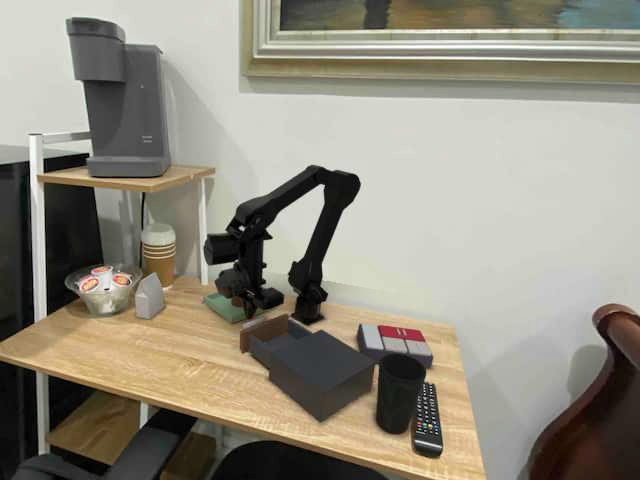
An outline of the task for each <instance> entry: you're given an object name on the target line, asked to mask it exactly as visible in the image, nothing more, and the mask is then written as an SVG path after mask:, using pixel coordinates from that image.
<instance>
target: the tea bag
mask: <svg viewBox="0 0 640 480" xmlns="http://www.w3.org/2000/svg"><path fill="white" fill-rule="evenodd" d="M134 300H135V301H134V303H135V312H136V313H135V314H136V317H137V318H140V319H141V318H142V319H147V320H150V319H152V318H153V317H155V315H157V314H158V313H159V312H160V311H161V310H163V309H164V307H165V304H164V303H165V302H164V301H165V300H164V287H163V285H162V283H161V281H160V279H159V277H158V274H157V271H154V272H152V273H151V274H149V275H148V276H146V277H145V278H143V279H141V280H140V281H139V283H138V287H137V289H136V292H135V295H134Z"/></svg>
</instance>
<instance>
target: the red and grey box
mask: <svg viewBox="0 0 640 480" xmlns="http://www.w3.org/2000/svg"><path fill="white" fill-rule="evenodd" d="M356 338H357V343H358V350H359V352H360V353H362V354H364V355H365V356H367V357H369V358H370V359H372V360H374V361H375V362H376V364H375V365H379V361H380V359H381V358H382V357H383V356H385V355H387V354H393V353H396V354H404V355H407V356H410V357H412V358H415V359H416V360H418V361H419V362H420V363H421V364H423V366H424V367H425V369H429V370H430V369H432V365H433V361H434V356H433V353H432V351H431V349H430V347H429V345H428V342H427V341H426V339H425V337H424V335H423V333H422V331H421V330H420V329H415V328H407V327H399V326H391V325H386V324H385V325H383V324H378V325H377V324H371V323H359V324H358V329H357V334H356Z"/></svg>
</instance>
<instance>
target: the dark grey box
mask: <svg viewBox="0 0 640 480" xmlns="http://www.w3.org/2000/svg"><path fill="white" fill-rule="evenodd" d="M376 365H377V364H376V362H375V361H374V360H372V359H370V358H369V357H367V356H365V355H364V354H362V353H360V350H357V349H355V348H353V347H352V346H350V345H349V344H347V343H345V342H344V341H343V340H340V339H338V338H337V337H335V336H333V335H332V334H331V333H328V331H325V330H323V328H322V329H319V330H316V331H315V332H312V334H310V335H308V336H306V337H303V338H301V339H299V340H297V341H294V342H292V343H290V344H288V345H285V346H283V347H281V348H279V349H276V350H274V351H272V352H270V368H268V369H269V371H268V380H269V381H270V382H271V383H272V384H273V385H275V386H276V387H277V388H278V389H280V391H282V392H283V393H284V394H285V395H286V396H288V397H289V398H290V399H291V400H293V401H294V402H295V403H296V404H298V405H299V406H300V407H301V408H302V409H304V410H305V411H306V412H307V413H308V414H310V416H312V417H313V418H314V419H315V420H316V421H318V422H319V423H323V422H324V421H325V420H327V419H328V418H330V417H332V416H333V415H336V413H338V412H339V411H341V410H343V409H344V408H346V407H347V406H349V405H350V404H351V403H353V402H354V401H356V400H358V399H359V398H361V397H363V395H365V394H366V393H368V392H370V391H371V390H372V387H373V382H374V376H375V369H376Z"/></svg>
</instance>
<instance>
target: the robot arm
mask: <svg viewBox="0 0 640 480" xmlns="http://www.w3.org/2000/svg"><path fill="white" fill-rule="evenodd" d="M360 179H361V178H360V177H359V176H358V175H357V174H356V173H353V172H349V171H345V170H341V169H334V170H330V169H327V168H326V167H324V166H320V165H317V164H310V165H307V167H306V168H305V169H304V170H302V171H301V172H299V173H298V174H296V175H295V176H293V177H292V178H290V179H289V180H287V181H285V182H284V183H282V184H281V185H279V186H278V187H276V188H275V189H274V190H272V191H270V192H269V193H267V194H264V195H261V196H257V197H253V198H250V199H248V200H246V201H244V202H242V203H240V204H239V205H238V206H237V207H236V209H235V213H234V216H233V217H232V219H231V220H230V222H229V223H228V225H227V226H226V228H225V229H224V230H225V231H224V232H219V233H215V232H210V233H207V234H206V239H205V241H204V244H203V246H202V250H203V252H202V253H203V257H204V260H205V263H206V265H207V266H209V267H210V266H217V265H224V264H231V263H232V267H231V268H226V269H222V270H221V271H220V272H219V274H218V277H217V278H216V279H215V280H214V285H215V288H216V290H217V292H218V293H219V294H221V295H223V296H224V297H225V298H226V299H230V298H232V297H233V296H238V297H239V298H240V301H241V304H242V307H243V310H244V313H245V316H246V320H248V321H251V320H252V319H253V318H254V316H255V315H254V314H255V312H256V311H257V309H258V308H260V309H261V310H268V309H271V308H274V307H275V308H278V307H279V306H282V305H284V304H285V294H284V293H283V292H282V291H280V290H278V289H276V287H273V286H270V287H268V288H267V287H265V286H264V285H266V284H267V280H266V279H265V278H263V276H264V275H263V274H264V273H263V271H264V269H267V267H268V263H267V262H264V247H265V241H270V240H273V239H274V237H273V236H272V234H270V233H269V231H268V230H267V229H268V228H269V227H270V226H271V225H272V224H273V223H274V222H275V221H276V219H277V217H278V215H279V214H280V213H281V212H282V211H283V210H284V209H286V208H288V207H289V206H290V205H293V203H295V202H296V201H298V200H299V199H301V198H302V197H303V196H305V195H307V194H308V193H309V192H311V191H313V190H314V189H315V188H317V187H318V186H320V185H322V186H324V187H323V202H324V204H323V206H322V208H321V211H320V214H319V216H318V219H317V222H316V224H315V226H314V229H313V231H312V234H311V236H310V239H309V241H308V245H307V247H306V250H305V252H304V255H303V257H302V258H301V259H300V260H298V261H296V260H293V261H292V263H291V265H290V269H289V271H288V272H287V274H286V275H287V276H288V278H287V283H288V284H289V286H290V287H291V288H292V290H293V292H294V293H296V294H297V296H296V297H295V300H296V301H295V303H294V311H293V312H291V313H290V316H291V317H292V318H294V319H296V320H297V321H299V322H301V323H302V324H304V325H306V326H310V325H312V324H314V323H316V322H319V321H321V320H324V319H325V316H324V315H322V314H321V309H322V303H325V302H326V301H327V299H328V297H329V293H328V292H327V291H326V290H325V289H324V288H323V287H322V283H323V279H324V273H323V272H324V271H323V263H324V260H325V257H326V254H327V252H328V250H329V247H330V245H331V244H332V243H331V242H332V240H333V238H334V234H335V232H336V230H337V228H338V225H339V222H340V219H341V217H342V216H343V213H344V211H345V210H346V209H347V208H348V207H349V206H350V205H351V204H352V203H354V201H355V199H356V197H357V196H358V194H359V192H360V190H361V187H362V182H361V180H360ZM241 228H243V230H242V229H241ZM275 308H274V309H275ZM271 310H272V309H271ZM268 311H269V310H268Z"/></svg>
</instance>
